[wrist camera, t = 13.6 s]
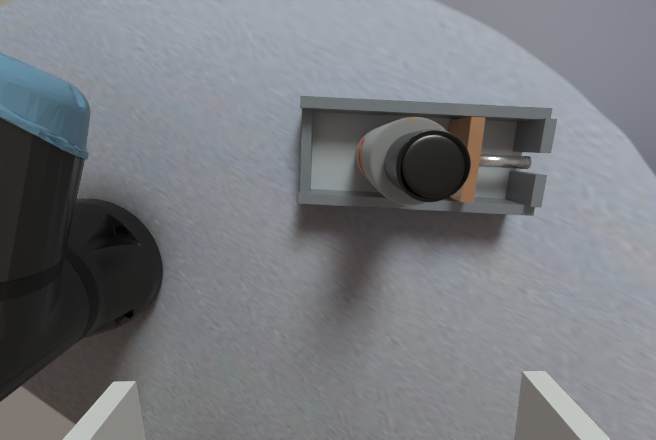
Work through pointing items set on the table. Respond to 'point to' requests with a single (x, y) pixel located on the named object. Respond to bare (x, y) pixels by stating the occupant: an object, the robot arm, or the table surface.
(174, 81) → the table surface
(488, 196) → the tray
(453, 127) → the pusher
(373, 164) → the lotion bottle
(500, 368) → the table surface
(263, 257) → the table surface
